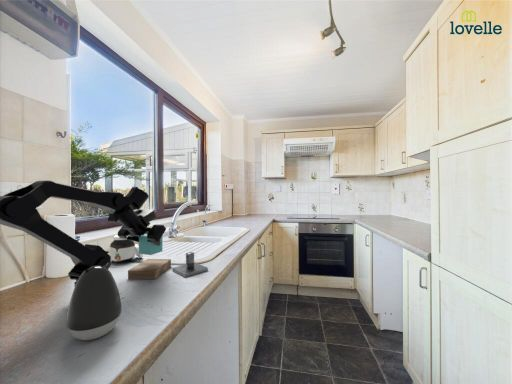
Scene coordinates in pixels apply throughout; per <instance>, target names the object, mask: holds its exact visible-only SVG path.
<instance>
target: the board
mask: <svg viewBox="0 0 512 384" xmlns="http://www.w3.org/2000/svg"><path fill="white" fill-rule="evenodd" d="M171 267H172V259H170V258H167V259H166V258H148V259H145V260H144V261H142V262H140V263H138V264H137V265H135V266H133V267H132V268H129V269H128V270H127V278H128V279H132V280H136V279H137V280H155V279H157V278H158V277H159V276H161V275H162V274H164V273H165V272H166V271H167V270H168V269H169V268H171ZM128 279H127V280H128Z"/></svg>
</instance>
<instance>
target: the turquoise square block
mask: <svg viewBox="0 0 512 384" xmlns="http://www.w3.org/2000/svg"><path fill="white" fill-rule="evenodd" d="M147 240H148V239H147V234H145V235H144V236H140V237H139V242H138V246H139V254H143V255H146V256H147V255H148V256H152V255H156V254H159V253H162V252H163V236H162V237H161V239H160V242H161V244H160V246H158V245H155V244H153V243H150V242H147Z"/></svg>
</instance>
